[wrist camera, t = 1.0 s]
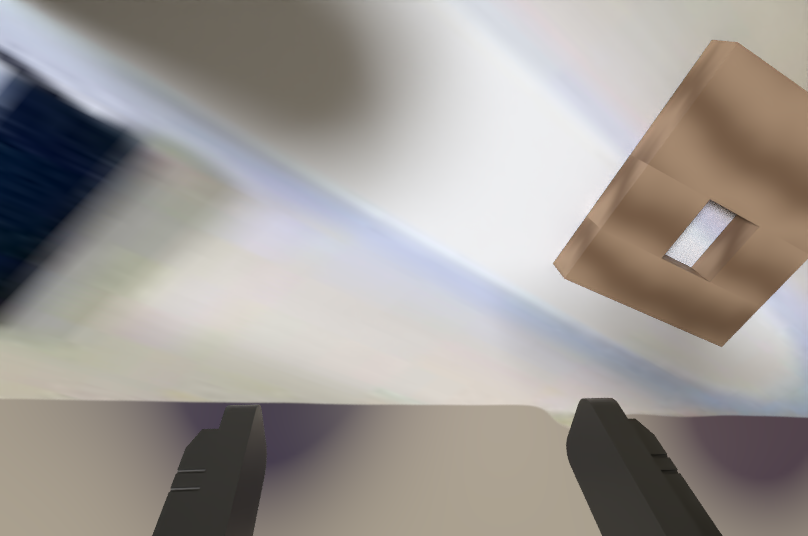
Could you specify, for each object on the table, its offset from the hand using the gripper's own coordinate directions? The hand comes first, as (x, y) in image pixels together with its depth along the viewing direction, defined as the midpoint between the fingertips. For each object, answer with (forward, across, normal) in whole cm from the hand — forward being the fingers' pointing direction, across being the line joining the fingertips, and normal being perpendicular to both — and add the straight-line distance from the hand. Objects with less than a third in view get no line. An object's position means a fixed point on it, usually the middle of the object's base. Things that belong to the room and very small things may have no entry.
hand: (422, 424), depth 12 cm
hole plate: (+25, -27, +4) cm, 37 cm away
